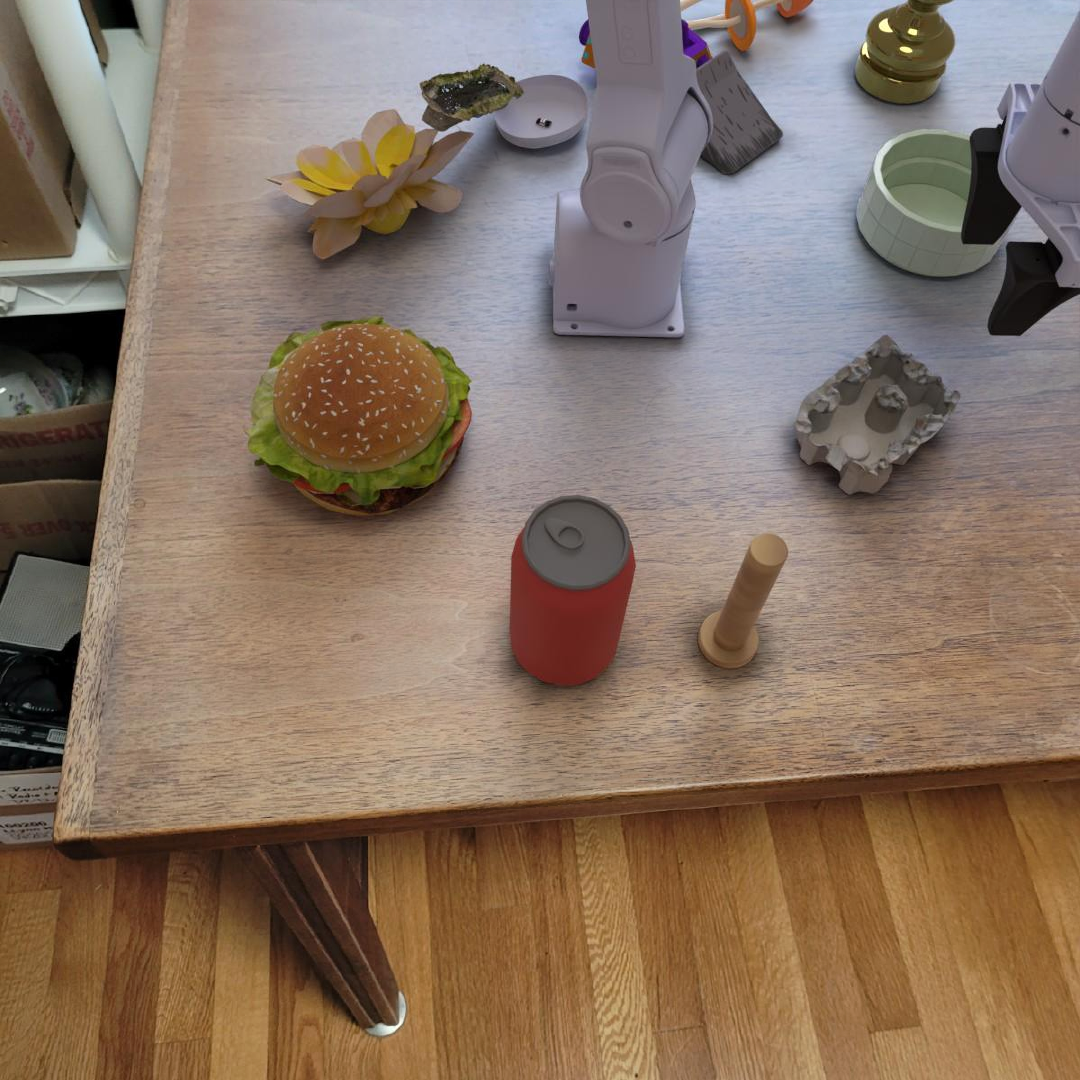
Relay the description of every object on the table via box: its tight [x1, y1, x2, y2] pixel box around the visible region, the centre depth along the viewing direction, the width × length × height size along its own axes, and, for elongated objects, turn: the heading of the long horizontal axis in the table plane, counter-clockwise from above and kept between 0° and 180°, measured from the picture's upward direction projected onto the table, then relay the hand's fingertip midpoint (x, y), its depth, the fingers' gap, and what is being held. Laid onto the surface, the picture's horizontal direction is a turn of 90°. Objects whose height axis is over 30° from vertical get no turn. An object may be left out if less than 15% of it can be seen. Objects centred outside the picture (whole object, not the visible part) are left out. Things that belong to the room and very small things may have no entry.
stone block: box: [419, 62, 524, 133], centre depth 80 cm, size 14×4×5 cm
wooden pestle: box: [697, 532, 789, 669], centre depth 59 cm, size 4×4×11 cm
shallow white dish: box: [492, 74, 589, 149], centre depth 86 cm, size 8×8×2 cm
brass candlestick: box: [854, 0, 956, 105], centre depth 87 cm, size 7×7×10 cm
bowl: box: [855, 128, 1023, 278], centre depth 80 cm, size 11×11×5 cm
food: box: [243, 315, 473, 517], centre depth 67 cm, size 14×14×8 cm
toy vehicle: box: [578, 18, 784, 175], centre depth 84 cm, size 9×21×15 cm, turn 43°
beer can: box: [509, 494, 637, 687], centre depth 58 cm, size 7×7×12 cm
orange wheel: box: [680, 0, 815, 52], centre depth 92 cm, size 7×8×15 cm
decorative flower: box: [264, 108, 476, 260], centre depth 77 cm, size 15×11×10 cm
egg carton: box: [793, 334, 962, 496], centre depth 70 cm, size 11×8×4 cm
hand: (990, 284), depth 66 cm, fingers open, 7 cm apart
